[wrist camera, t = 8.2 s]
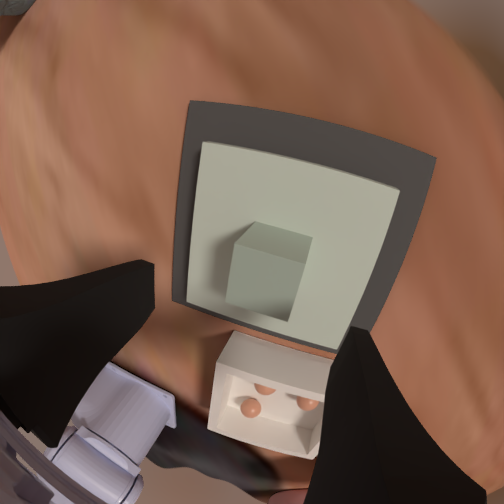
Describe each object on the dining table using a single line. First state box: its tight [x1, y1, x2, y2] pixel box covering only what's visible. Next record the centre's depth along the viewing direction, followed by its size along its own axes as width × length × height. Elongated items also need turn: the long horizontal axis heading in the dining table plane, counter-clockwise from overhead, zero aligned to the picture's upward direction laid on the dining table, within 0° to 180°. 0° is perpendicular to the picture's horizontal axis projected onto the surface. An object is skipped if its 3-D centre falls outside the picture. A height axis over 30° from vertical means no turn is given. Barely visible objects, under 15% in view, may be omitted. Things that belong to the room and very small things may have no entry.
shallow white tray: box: [207, 330, 334, 460], centre depth 20 cm, size 10×10×4 cm
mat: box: [172, 100, 436, 354], centre depth 16 cm, size 14×14×1 cm
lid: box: [186, 141, 400, 350], centre depth 14 cm, size 10×10×5 cm
